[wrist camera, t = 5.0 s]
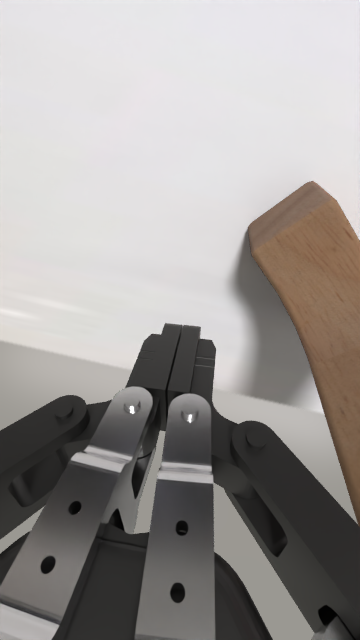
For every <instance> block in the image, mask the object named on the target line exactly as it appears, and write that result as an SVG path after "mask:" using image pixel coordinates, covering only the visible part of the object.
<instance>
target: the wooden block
mask: <svg viewBox="0 0 360 640" xmlns="http://www.w3.org/2000/svg"><path fill="white" fill-rule="evenodd" d="M248 234H249V242H250V250H251V255H252V257H253V259H254V260H255V261H256V263H257V264H258V266H259V267H260V269H261V270H262V272H263V273H264V275H265V276H266V277H267V279H268V280H269V282H270V283H271V285H272V286H273V288H274V289H275V291H276V292H277V294H278V295H279V297H280V299H281V301H282V303H283V305H284V307H285V309H286V310H287V312H288V314H289V316H290V318H291V320H292V322H293V323H294V325H295V327H296V330H297V332H298V335H299V337H300V340H301V343H302V345H303V348H304V350H305V353H306V355H307V358H308V361H309V364H310V367H311V371H312V374H313V377H314V381H315V384H316V387H317V391H318V394H319V397H320V400H321V404H322V407H323V410H324V414H325V417H326V420H327V423H328V427H329V430H330V433H331V437H332V439H333V443H334V446H335V450H336V453H337V456H338V460H339V463H340V466H341V469H342V473H343V476H344V479H345V483H346V486H347V489H348V493H349V496H350V499H351V502H352V506H353V509H354V512H355V516H356V519H357V522H358V526H359V527H360V240H359V239H358V237H357V235H356V234H355V232H354V230H353V228H352V227H351V225H350V223H349V221H348V220H347V218H346V216H345V214H344V213H343V211H342V209H341V207H340V206H339V204H338V202H337V201H336V200H335V199H334V198H333V197H332V196H331V195H330V194H328V193H327V192H326V191H325V190H324V189H323V188H321V187H320V186H319V185H318V184H317V183H315V182H314V181H311V182H308V183H306V184H304V185H303V186H302V187H300V188H299V189H298V190H296V191H295V192H293V193H292V194H291V195H289V196H288V197H286V198H285V199H284V200H282V201H281V202H280V203H278V204H277V205H275V206H274V207H273V208H271V209H270V210H268V211H267V212H266V213H264V214H263V215H262V216H260V217H259V218H257V219H256V220H255V221H253V222H252V223H251V224H250V225H249V227H248Z"/></svg>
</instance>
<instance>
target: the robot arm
mask: <svg viewBox="0 0 360 640" xmlns="http://www.w3.org/2000/svg"><path fill="white" fill-rule="evenodd" d="M200 331H201V327H198V326H188V325H184V326H182V325H177V324H167V323H165V325H164V328H163V331H162V334H161V335H159V334H151V335H150V336H149V337H148V338H147V339H146V340H145V341H144V343H143V345H142V348H141V350H140V353H139V355H138V359H137V360H136V363H135V365H134V368H133V370H132V373H131V375H130V378H129V380H128V383H127V385H126V387H125V389H122V390H121V391H119V392H118V393H117V394H116V395H115V396H114V398H113V399H112V400H110V401H107V402H102V403H96V404H88V405H86V403H85V401H84V400H83V399H82V398H80V397H78V396H74V395H66V396H62V397H59V398H57V399H55V400H54V401H52V402H50V403H48V404H46V405H45V406H43V407H41V408H40V409H38V410H36V411H34V412H33V413H31V414H29V415H27V416H25V417H24V418H22V419H20V420H18V421H17V422H15V423H13V424H11V425H10V426H8V427H6V428H4V429H2V430H1V431H0V539H1V538H3V537H4V536H5V535H7V534H8V533H9V532H11V531H12V530H13V529H15V528H16V527H17V526H18V525H20V524H21V523H23V522H24V521H25V520H26V519H28V518H29V517H30V516H32V515H33V514H34V513H35V512H37V511H38V510H40V509H41V508H42V507H43V506H44V508H43V510H42V512H41V513H40V516H39V517H38V519H37V521H36V523H35V524H34V526H33V528H32V530H31V531H30V532H28V533H26V534H25V535H23V536H22V537H21V538H19V539H18V540H17V541H15V542H14V543H13V544H11V545H10V546H9V547H8V548H7V549H6V550H4V551H3V552H2V553H1V554H0V640H273V639H272V637H271V635H270V633H269V632H268V630H267V628H266V626H265V624H264V622H263V620H262V618H261V616H260V614H259V612H258V610H257V608H256V606H255V604H254V602H253V600H252V599H251V597H250V595H249V593H248V591H247V589H246V587H245V585H244V584H243V582H242V581H241V579H240V578H239V576H238V575H237V573H236V572H235V571H234V570H233V568H232V567H231V566H230V565H229V564H228V563H227V562H226V561H225V560H224V559H223V558H222V557H221V556H219V555H218V554H217V553H215V552H214V492H213V482H214V483H216V484H217V485H219V486H221V487H223V488H224V490H225V492H226V494H227V496H228V497H229V499H230V500H231V502H232V504H233V505H234V507H235V508H236V510H237V512H238V513H239V515H240V516H241V518H242V519H243V521H244V523H245V524H246V526H247V527H248V529H249V530H250V532H251V534H252V535H253V537H254V538H255V540H256V542H257V543H258V545H259V546H260V548H261V549H262V551H263V553H264V554H265V556H266V557H267V559H268V560H269V562H270V563H271V565H272V567H273V568H274V570H275V571H276V573H277V575H278V576H279V578H280V579H281V581H282V583H283V584H284V586H285V587H286V589H287V590H288V592H289V593H290V595H291V597H292V598H293V600H294V601H295V603H296V605H297V606H298V608H299V609H300V611H301V612H302V614H303V616H304V617H305V619H306V620H307V622H308V624H309V625H310V627H311V628H312V630H313V631H314V635H313V637H312V639H311V640H360V527H359V526H358V524H357V523H356V522H355V521H354V520H353V519H352V518H351V517H350V516H349V514H348V513H347V512H346V511H345V510H344V509H343V508H342V507H341V506H340V505H339V504H338V502H337V501H336V500H335V499H334V498H333V497H332V496H331V495H330V493H329V492H328V491H327V490H326V489H325V488H324V487H323V486H322V485H321V484H320V482H318V480H317V479H316V478H315V477H314V476H313V475H312V474H311V472H310V471H309V470H308V469H307V468H306V467H305V466H304V465H303V464H302V462H301V461H300V460H299V459H298V458H297V457H296V456H295V455H294V454H293V453H292V452H291V450H290V449H289V448H288V447H287V446H286V445H285V444H284V443H283V442H282V440H281V439H280V438H279V437H278V436H277V435H276V434H275V433H274V431H272V429H270V428H269V427H268V426H267V425H265V424H263V423H260V422H257V421H245V422H242V423H240V424H237V423H234V422H232V421H230V420H228V419H226V418H224V417H223V416H221V415H220V414H219V413H218V412H217V411H216V409H215V408H214V406H213V402H212V391H213V379H214V367H215V355H216V348H215V346H214V344H213V342H212V340H206V339H200ZM160 430H162V431H166V434H165V441H164V448H163V455H162V462H161V467H160V468H159V471H158V476H157V482H156V490H155V497H154V504H153V510H152V518H151V525H150V532H148V533H139V534H133V532H134V528H135V525H136V519H137V513H138V506H139V502H140V498H141V495H142V492H143V489H144V486H145V483H146V479H147V476H148V473H149V470H150V467H151V464H152V460H153V457H154V454H155V450H156V443H157V440H158V435H159V431H160ZM78 512H79V513H78Z"/></svg>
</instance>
